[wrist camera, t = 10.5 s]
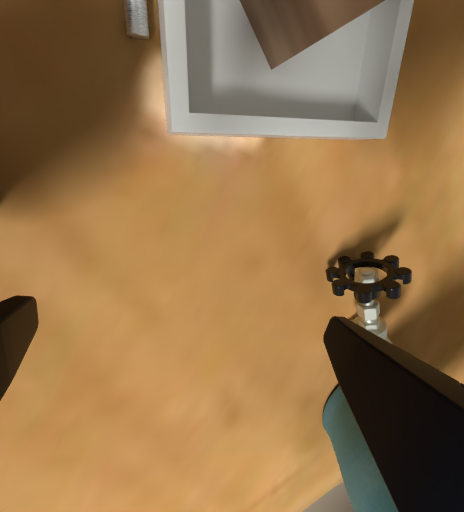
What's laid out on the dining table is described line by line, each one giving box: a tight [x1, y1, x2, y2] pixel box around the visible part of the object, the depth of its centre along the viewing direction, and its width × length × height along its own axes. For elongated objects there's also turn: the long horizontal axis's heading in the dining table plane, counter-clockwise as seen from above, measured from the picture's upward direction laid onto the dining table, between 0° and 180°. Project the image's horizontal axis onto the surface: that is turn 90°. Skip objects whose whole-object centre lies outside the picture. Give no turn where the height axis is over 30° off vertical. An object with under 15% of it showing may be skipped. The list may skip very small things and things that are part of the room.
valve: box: [326, 251, 412, 344], centre depth 26 cm, size 7×7×12 cm
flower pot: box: [323, 385, 398, 512], centre depth 28 cm, size 18×18×17 cm
